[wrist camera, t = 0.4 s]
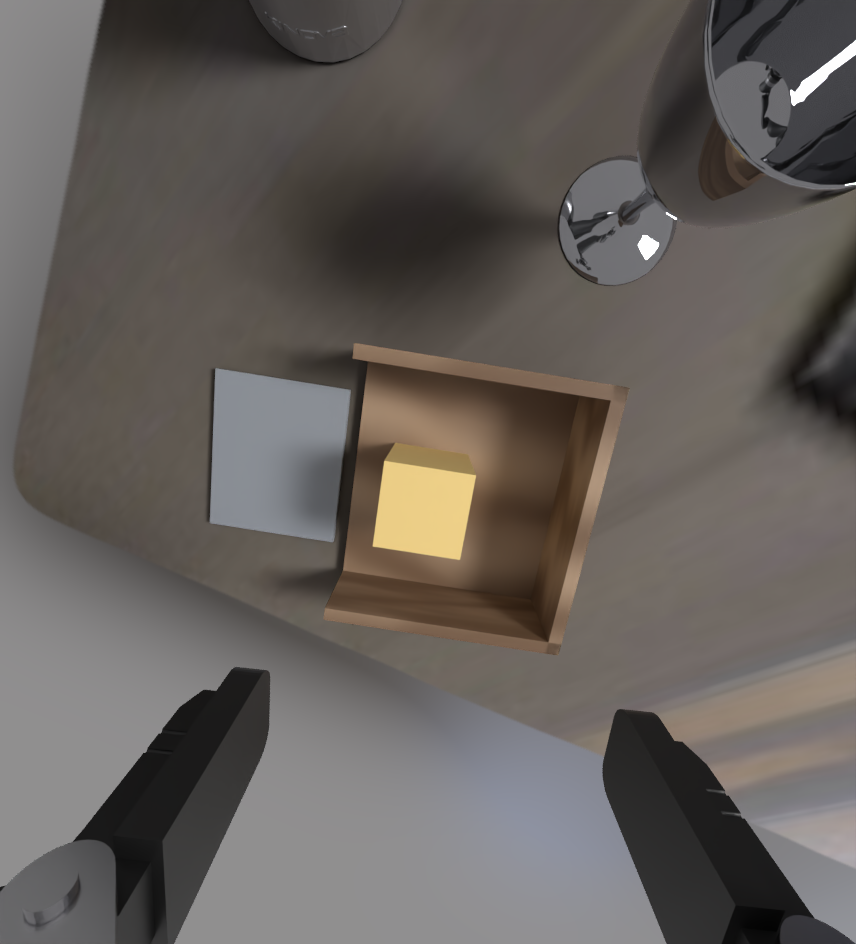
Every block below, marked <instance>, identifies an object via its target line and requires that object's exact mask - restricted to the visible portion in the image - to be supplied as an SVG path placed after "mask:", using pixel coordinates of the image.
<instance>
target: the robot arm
mask: <svg viewBox="0 0 856 944" xmlns="http://www.w3.org/2000/svg"><path fill="white" fill-rule="evenodd" d="M249 2H250V4H251V6H252V8H253V10H254V12H255V14H256V16H257V18H258V19H259V20H260V22H261V23H262V25H263V26H264V27H265V29H266V30H267V31H268V33H269V34H270V35H271V36H272V37H273V38H274V39H275V40H276V41H277V42H279V43H280V44H281V45H282V46H283V47H284V48H286V49H287V50H289V51H291V52H293V53H294V54H296V55H298V56H300V57H303V58H306V59H309V60H313V61H316V62H337V61H342V60H346V59H350V58H352V57H354V56H356V55H358V54H360V53H363V52H365V51H366V50H367V49H369V48H370V47H371V46H372V45H373V44H375V43H376V42H377V41H378V40H379V39H380V38H381V37H382V35H383V34H384V33H385V32H386V30H387V29H388V28H389V26H390V25H391V24H392V22H393V20H394V18H395V16H396V14H397V12H398V10H399V8H400V6H401V2H402V0H249ZM269 703H270V673H269V672H268V671H267V670H259V669H249V668H240V667H235V668H233V669H232V670H231V671H230V673H229V674H228V675H227V677H226V678H225V679H224V681H223V682H222V684H221V686H220V687H219V688H218V689H217V691H211V690H203V691H201V692H200V693H199V694H197V695H196V696H194V697H193V698H192V699H191V700H189V701H188V702H186V703H185V704H183V705H182V706H181V707H180V708H179V709H178V710H177V711H176V713H175V714H174V715H173V717H172V718H171V719H170V720H169V722H168V723H167V724H166V725H165V727H164V728H163V730H162V733H161V734H158V735H157V737H156V738H155V739H154V741H153V742H152V743H151V744H150V746H149V747H148V749H147V752H146V753H143V754H142V756H141V757H140V758H139V759H138V761H137V762H136V763H135V765H134V766H133V767H132V768H131V770H130V771H129V772H128V773H127V775H126V776H125V777H124V779H123V780H122V781H121V783H120V784H119V785H118V786H117V787H116V789H115V790H114V791H113V792H112V794H111V795H110V796H109V798H108V799H107V800H106V801H105V803H104V804H103V805H102V806H101V808H100V809H99V810H98V811H97V813H96V814H95V815H94V817H93V818H92V819H91V820H90V822H89V823H88V824H87V825H86V827H85V828H84V829H83V830H82V832H81V833H80V834H79V835H78V836H77V837H76V839H75V840H74V841H73V842H71V843H68V844H65V845H63V846H60V847H58V848H55V849H53V850H52V851H50V852H48V853H46V854H44V855H43V856H41V857H39V858H38V859H36V860H35V861H33V862H32V863H31V864H29V865H28V866H26V867H25V868H24V869H23V870H22V871H21V872H20V873H18V874H17V875H16V876H15V877H14V878H13V879H12V880H11V881H10V882H9V883H8V884H7V885H6V886H2V887H0V944H174V942H175V940H176V938H177V936H178V934H179V932H180V930H181V927H182V925H183V923H184V921H185V919H186V917H187V915H188V913H189V910H190V908H191V906H192V904H193V902H194V899H195V897H196V896H197V893H198V891H199V889H200V887H201V885H202V883H203V880H204V878H205V876H206V874H207V872H208V870H209V867H210V866H211V863H212V861H213V859H214V857H215V855H216V853H217V851H218V849H219V846H220V844H221V842H222V840H223V838H224V835H225V834H226V831H227V829H228V827H229V825H230V823H231V821H232V818H233V817H234V814H235V812H236V810H237V808H238V806H239V804H240V801H241V799H242V797H243V795H244V793H245V791H246V789H247V787H248V784H249V782H250V780H251V778H252V776H253V774H254V771H255V770H256V767H257V765H258V763H259V761H260V758H261V756H262V754H263V751H264V748H265V744H266V740H267V736H268V730H269V705H270V704H269ZM603 781H604V787H605V792H606V795H607V798H608V800H609V803H610V805H611V808H612V810H613V813H614V815H615V817H616V820H617V822H618V825H619V827H620V830H621V832H622V835H623V837H624V840H625V842H626V844H627V847H628V850H629V852H630V854H631V857H632V859H633V862H634V864H635V867H636V869H637V872H638V874H639V877H640V879H641V882H642V884H643V886H644V889H645V891H646V894H647V896H648V899H649V901H650V904H651V906H652V909H653V911H654V914H655V916H656V918H657V921H658V923H659V926H660V928H661V931H662V933H663V936H664V938H665V941H666V943H667V944H855V943H854V942H853V941H852V940H850V939H849V938H848V937H846V936H845V935H844V934H842V933H841V932H839V931H838V930H836V929H834V928H833V927H831V926H829V925H828V924H826V923H824V922H821V921H819V920H817V919H815V918H814V917H813V915H812V914H811V913H810V912H809V910H808V909H807V907H806V906H805V904H804V903H803V902H802V900H801V899H800V898H799V896H798V894H797V893H796V892H795V890H794V889H793V887H792V886H791V884H790V883H789V881H788V880H787V879H786V877H785V876H784V874H783V873H782V872H781V870H780V869H779V867H778V866H777V864H776V863H775V861H774V860H773V859H772V857H771V856H770V855H769V853H768V852H767V850H766V849H765V847H764V846H763V844H762V843H761V842H760V840H759V839H758V837H757V836H756V834H755V833H754V832H753V830H752V829H751V827H750V826H749V824H748V823H747V821H746V820H745V819H742V817H741V813H740V811H739V810H738V809H737V807H736V806H735V804H734V803H733V801H732V800H731V799H730V797H729V796H726V794H725V790H724V788H723V787H722V786H721V784H720V783H719V781H718V780H717V778H716V777H715V776H714V774H713V773H712V771H711V770H710V768H709V767H708V766H707V764H706V763H705V762H703V761H702V760H701V759H700V758H699V757H698V756H697V755H696V754H695V753H694V752H693V751H692V750H690V749H689V748H688V747H687V746H686V745H685V744H684V743H683V742H678V741H674V740H673V738H672V737H671V735H670V733H669V732H668V730H667V729H666V727H665V726H664V724H663V723H662V721H661V720H660V718H659V717H658V716H657V715H656V714H654V713H652V712H643V711H633V710H624V709H619V710H617V711H616V713H615V716H614V719H613V723H612V727H611V732H610V736H609V740H608V744H607V748H606V752H605V756H604V761H603Z"/></svg>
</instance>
